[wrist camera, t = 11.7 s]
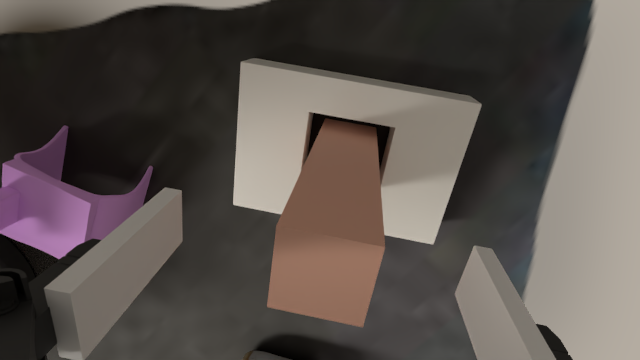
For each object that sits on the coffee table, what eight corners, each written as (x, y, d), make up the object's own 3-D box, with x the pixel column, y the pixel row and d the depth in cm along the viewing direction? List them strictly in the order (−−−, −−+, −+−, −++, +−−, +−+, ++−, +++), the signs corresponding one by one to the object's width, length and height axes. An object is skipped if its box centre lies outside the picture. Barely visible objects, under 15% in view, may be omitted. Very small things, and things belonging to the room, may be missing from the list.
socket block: (245, 188, 31) (233, 204, 28) (254, 57, 26) (240, 61, 23) (427, 224, 30) (433, 244, 27) (469, 95, 25) (482, 104, 23)
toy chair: (141, 230, 34) (-10, 367, 21) (55, 191, 34) (-159, 304, 20) (161, 159, 31) (-3, 267, 17) (66, 114, 30) (-183, 188, 16)
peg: (317, 165, 29) (266, 307, 14) (325, 118, 27) (276, 225, 13) (365, 174, 29) (362, 327, 14) (376, 127, 27) (385, 247, 13)
